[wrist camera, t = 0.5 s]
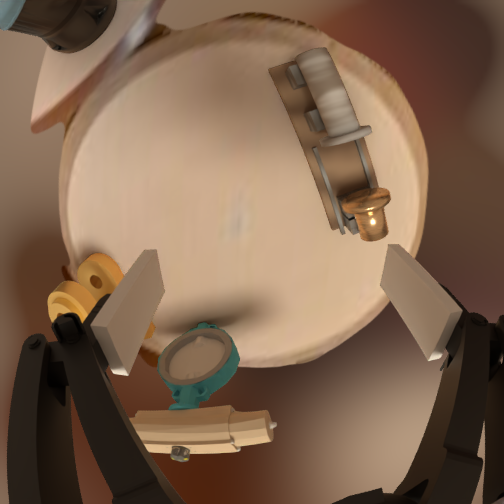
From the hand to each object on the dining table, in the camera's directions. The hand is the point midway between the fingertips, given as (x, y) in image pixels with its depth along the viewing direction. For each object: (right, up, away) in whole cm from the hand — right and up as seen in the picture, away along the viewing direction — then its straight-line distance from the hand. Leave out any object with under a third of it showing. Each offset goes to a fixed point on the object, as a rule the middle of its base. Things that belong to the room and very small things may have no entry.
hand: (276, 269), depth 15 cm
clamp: (-30, -8, +38) cm, 49 cm away
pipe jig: (+11, +18, +25) cm, 33 cm away
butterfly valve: (-11, -15, +40) cm, 44 cm away
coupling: (+16, +9, +28) cm, 33 cm away
